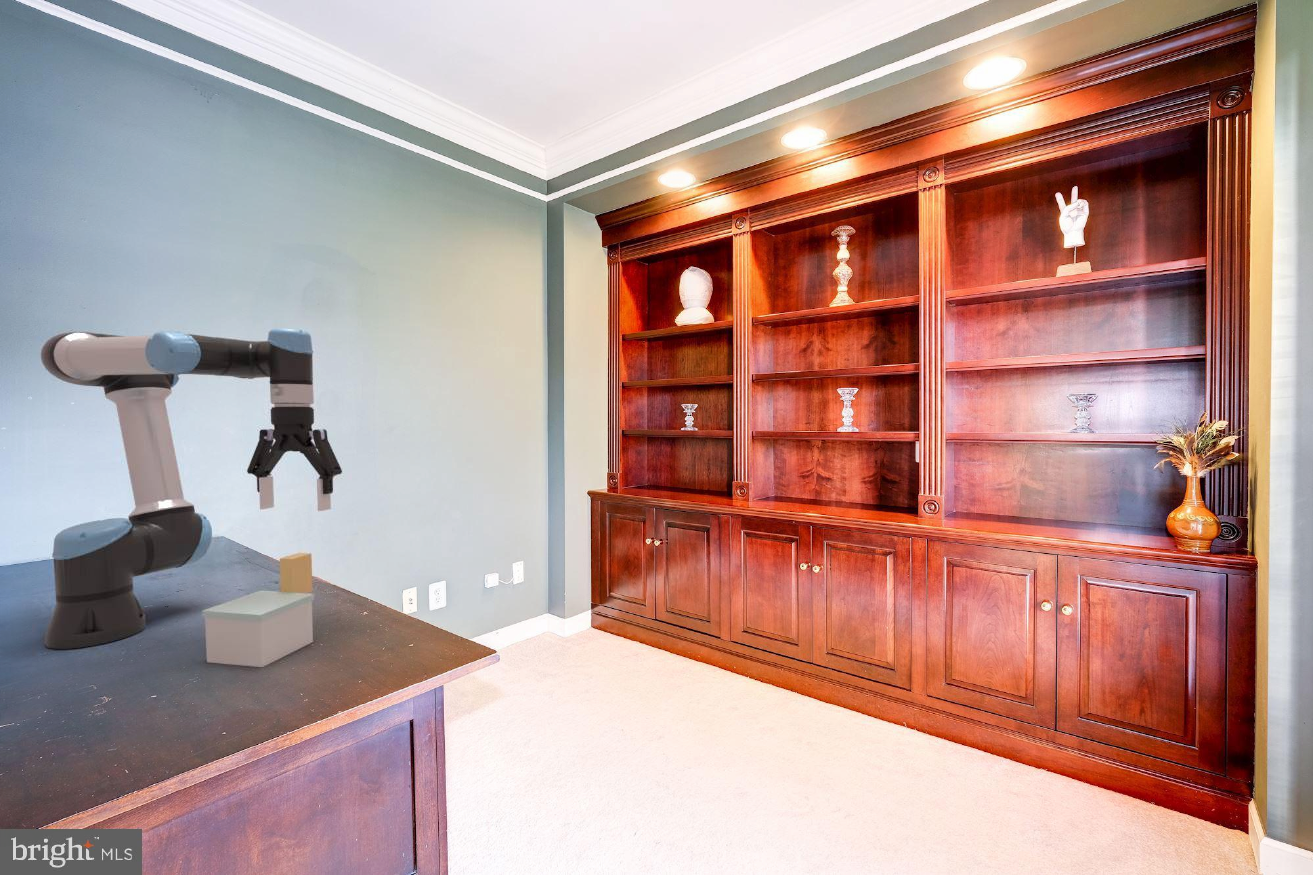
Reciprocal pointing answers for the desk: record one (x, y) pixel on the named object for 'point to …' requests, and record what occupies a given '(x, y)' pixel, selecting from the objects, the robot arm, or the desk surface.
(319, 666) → the desk surface
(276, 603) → the lid
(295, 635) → the tub
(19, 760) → the desk surface
